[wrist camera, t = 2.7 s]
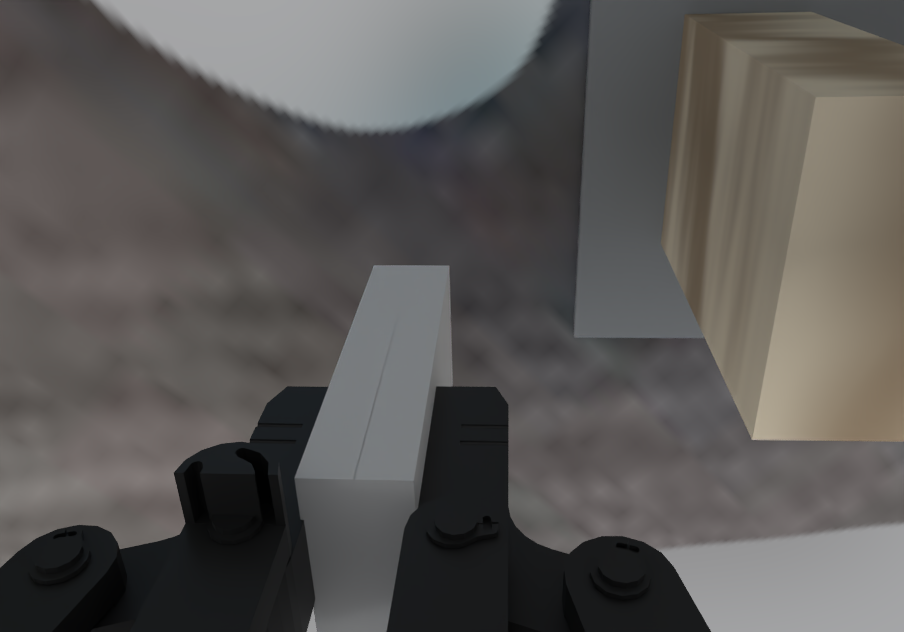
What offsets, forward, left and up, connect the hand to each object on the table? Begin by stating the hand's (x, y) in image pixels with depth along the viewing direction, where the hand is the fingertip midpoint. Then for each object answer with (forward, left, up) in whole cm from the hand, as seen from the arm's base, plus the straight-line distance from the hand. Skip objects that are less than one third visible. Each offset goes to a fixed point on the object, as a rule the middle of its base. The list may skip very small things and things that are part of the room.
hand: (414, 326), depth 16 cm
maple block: (+10, 0, -14) cm, 17 cm away
